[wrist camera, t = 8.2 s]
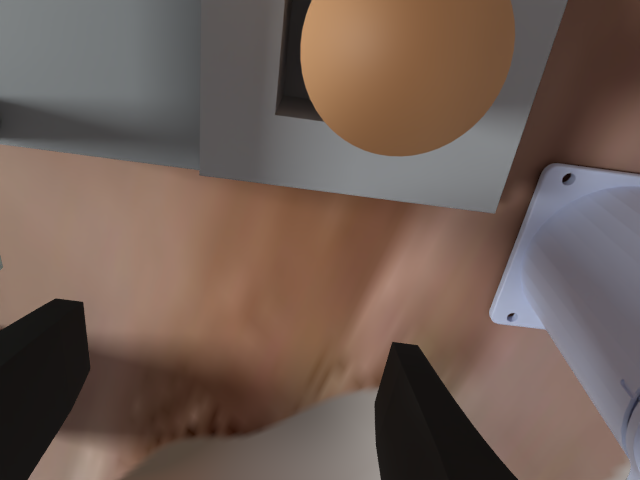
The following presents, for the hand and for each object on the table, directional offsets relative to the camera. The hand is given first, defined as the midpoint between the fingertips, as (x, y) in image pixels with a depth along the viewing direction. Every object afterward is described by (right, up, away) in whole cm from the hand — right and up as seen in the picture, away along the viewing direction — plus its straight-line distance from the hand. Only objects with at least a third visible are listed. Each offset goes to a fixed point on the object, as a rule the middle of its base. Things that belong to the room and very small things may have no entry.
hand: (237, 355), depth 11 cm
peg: (+4, +10, +5) cm, 12 cm away
